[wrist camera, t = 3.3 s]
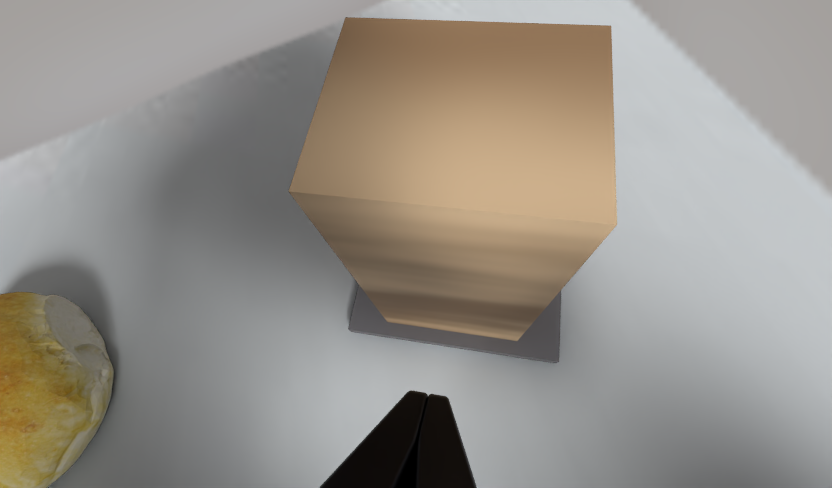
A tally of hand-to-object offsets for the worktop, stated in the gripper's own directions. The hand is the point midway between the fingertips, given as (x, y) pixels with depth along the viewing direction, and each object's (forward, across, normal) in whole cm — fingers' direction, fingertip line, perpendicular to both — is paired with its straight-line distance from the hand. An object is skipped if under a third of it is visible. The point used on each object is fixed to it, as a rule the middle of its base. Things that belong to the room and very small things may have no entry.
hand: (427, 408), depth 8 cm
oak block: (+8, 0, +1) cm, 8 cm away
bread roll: (+3, +17, +7) cm, 19 cm away
